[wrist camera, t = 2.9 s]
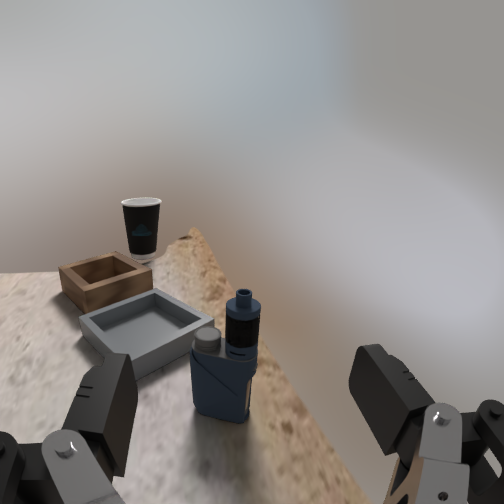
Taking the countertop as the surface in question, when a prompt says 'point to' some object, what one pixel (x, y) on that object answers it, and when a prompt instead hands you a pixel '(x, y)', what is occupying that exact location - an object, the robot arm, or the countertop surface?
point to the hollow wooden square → (104, 280)
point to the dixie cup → (141, 226)
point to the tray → (144, 329)
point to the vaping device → (227, 361)
